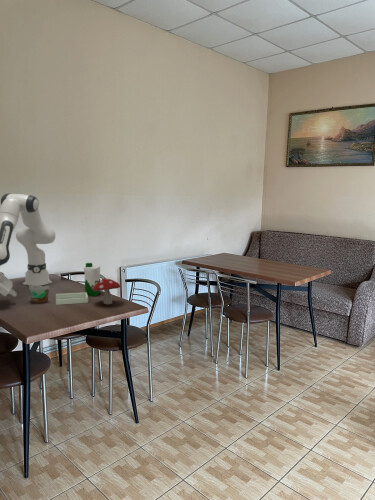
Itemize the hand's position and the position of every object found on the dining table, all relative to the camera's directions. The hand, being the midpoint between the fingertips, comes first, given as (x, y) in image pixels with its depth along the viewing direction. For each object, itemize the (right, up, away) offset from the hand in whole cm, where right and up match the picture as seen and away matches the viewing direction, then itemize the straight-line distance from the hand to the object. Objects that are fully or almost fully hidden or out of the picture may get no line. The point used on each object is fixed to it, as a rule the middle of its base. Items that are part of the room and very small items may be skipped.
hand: (16, 295), depth 218 cm
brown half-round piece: (+11, -5, +4) cm, 12 cm away
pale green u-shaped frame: (+29, -4, +10) cm, 31 cm away
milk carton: (+38, -3, +24) cm, 45 cm away
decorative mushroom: (+50, -6, +6) cm, 51 cm away
